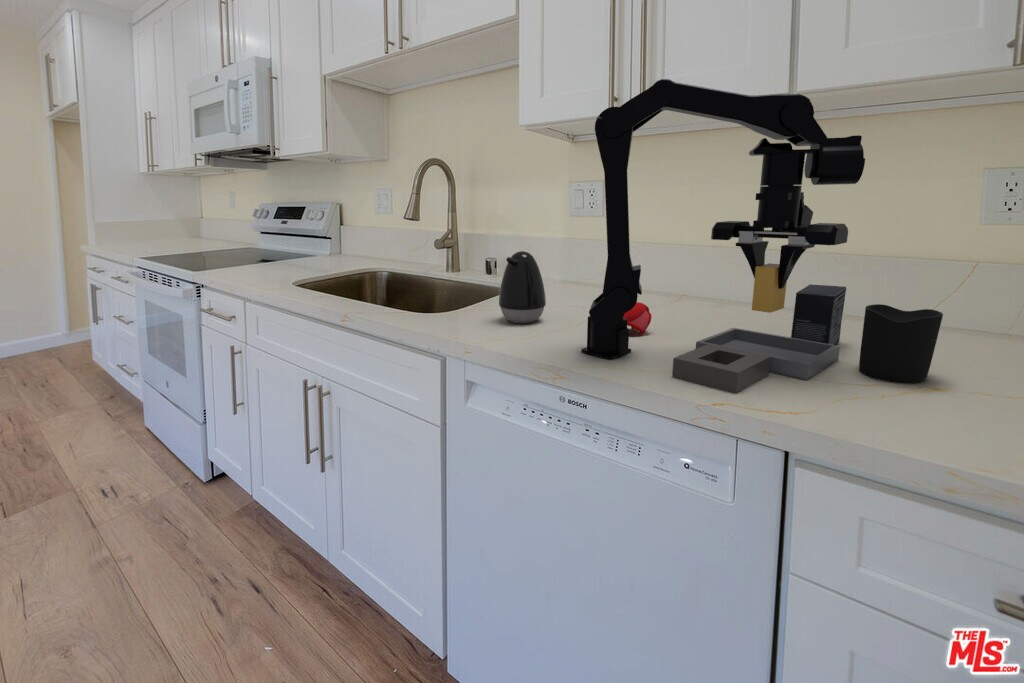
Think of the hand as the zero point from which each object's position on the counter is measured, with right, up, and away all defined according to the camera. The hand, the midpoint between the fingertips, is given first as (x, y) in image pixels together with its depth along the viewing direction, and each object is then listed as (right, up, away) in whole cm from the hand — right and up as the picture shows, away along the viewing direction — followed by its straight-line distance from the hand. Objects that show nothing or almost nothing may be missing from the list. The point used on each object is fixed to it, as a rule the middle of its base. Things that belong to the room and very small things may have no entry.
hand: (770, 287), depth 88 cm
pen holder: (+17, -14, -4) cm, 22 cm away
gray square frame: (-9, -14, -4) cm, 17 cm away
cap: (-17, -7, +22) cm, 29 cm away
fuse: (0, -3, +1) cm, 4 cm away
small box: (+13, -10, +12) cm, 20 cm away
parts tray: (+1, -11, +5) cm, 12 cm away
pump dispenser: (-39, -4, +33) cm, 51 cm away
